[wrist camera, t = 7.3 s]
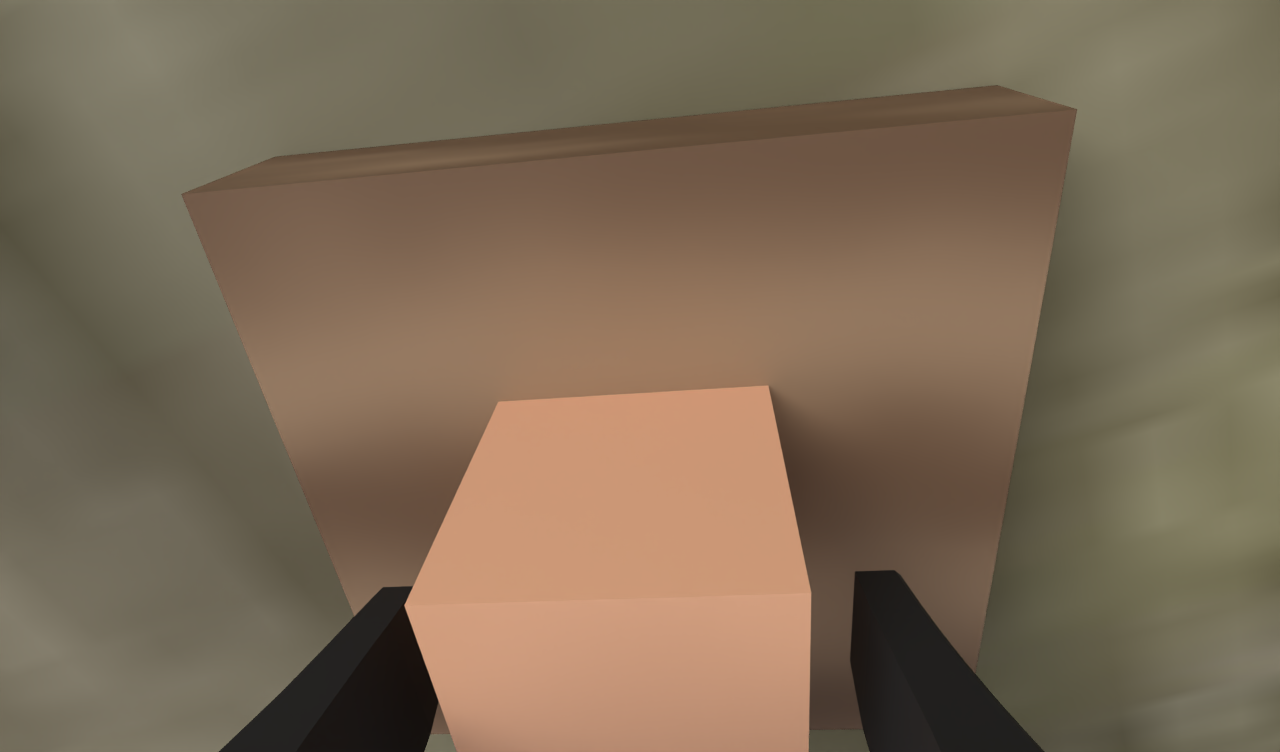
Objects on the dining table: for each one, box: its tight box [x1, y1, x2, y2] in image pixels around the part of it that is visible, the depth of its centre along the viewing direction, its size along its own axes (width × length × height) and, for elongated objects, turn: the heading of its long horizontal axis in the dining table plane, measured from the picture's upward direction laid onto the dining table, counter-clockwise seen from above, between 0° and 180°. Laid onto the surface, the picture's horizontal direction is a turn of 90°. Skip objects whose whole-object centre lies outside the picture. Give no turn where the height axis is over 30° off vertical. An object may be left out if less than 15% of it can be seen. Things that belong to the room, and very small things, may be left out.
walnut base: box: [182, 85, 1077, 734], centre depth 16 cm, size 14×14×3 cm
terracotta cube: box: [404, 386, 811, 752], centre depth 12 cm, size 5×5×5 cm
